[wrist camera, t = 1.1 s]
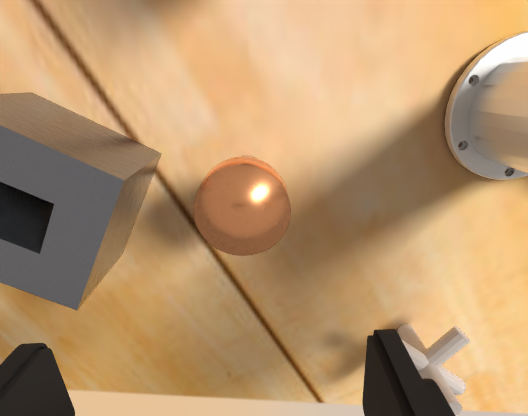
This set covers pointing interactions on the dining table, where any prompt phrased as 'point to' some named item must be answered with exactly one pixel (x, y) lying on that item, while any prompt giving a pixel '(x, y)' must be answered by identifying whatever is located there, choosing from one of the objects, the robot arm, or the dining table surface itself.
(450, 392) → the light grey toy jack
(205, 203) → the copper pin
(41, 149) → the hitch block
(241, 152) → the dining table surface
